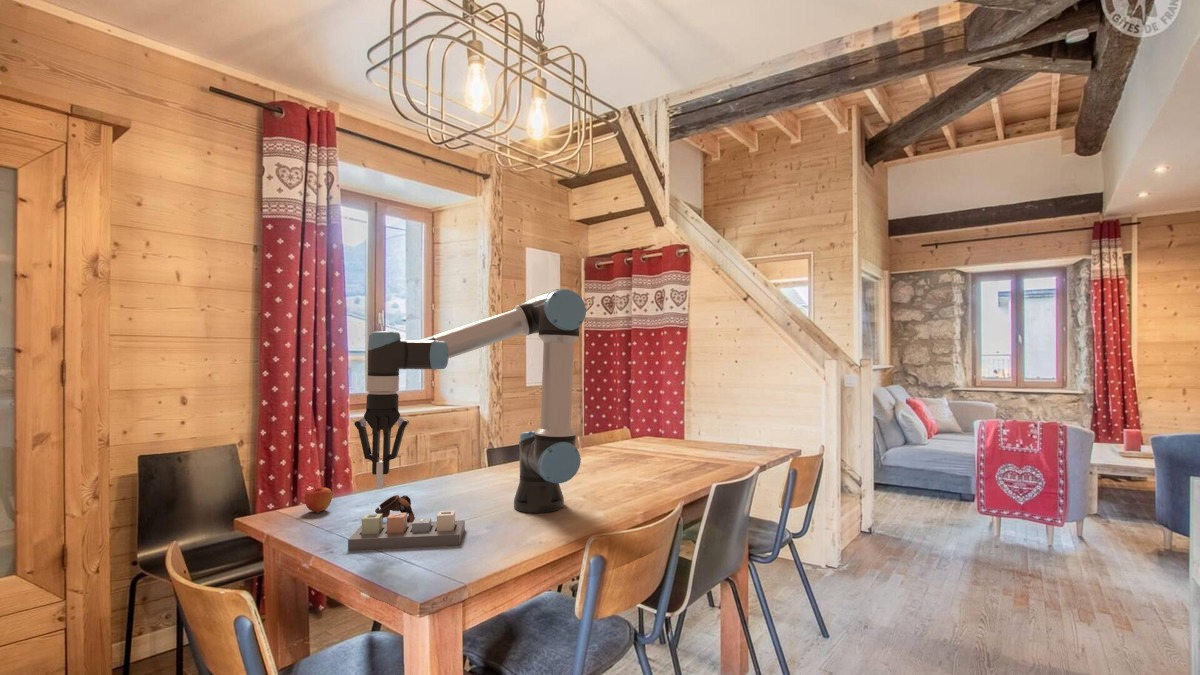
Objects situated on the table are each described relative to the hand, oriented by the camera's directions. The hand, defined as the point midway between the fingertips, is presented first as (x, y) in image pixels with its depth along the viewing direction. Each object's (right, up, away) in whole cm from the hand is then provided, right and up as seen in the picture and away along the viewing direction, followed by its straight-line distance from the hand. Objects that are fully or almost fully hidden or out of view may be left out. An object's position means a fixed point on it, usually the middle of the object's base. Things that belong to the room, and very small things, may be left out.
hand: (380, 487), depth 143 cm
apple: (-29, -14, +27) cm, 42 cm away
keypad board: (+7, -13, +1) cm, 15 cm away
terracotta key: (+4, -11, +1) cm, 12 cm away
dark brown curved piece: (-2, -14, +17) cm, 22 cm away
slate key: (+10, -13, +1) cm, 16 cm away
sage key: (-2, -11, 0) cm, 11 cm away
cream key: (+16, -11, +2) cm, 20 cm away
